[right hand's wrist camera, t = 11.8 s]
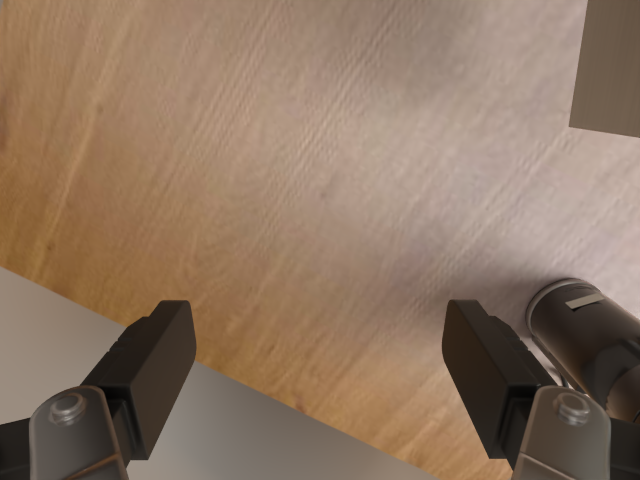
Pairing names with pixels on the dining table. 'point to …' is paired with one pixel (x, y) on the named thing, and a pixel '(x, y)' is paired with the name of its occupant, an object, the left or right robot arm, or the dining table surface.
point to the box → (609, 69)
